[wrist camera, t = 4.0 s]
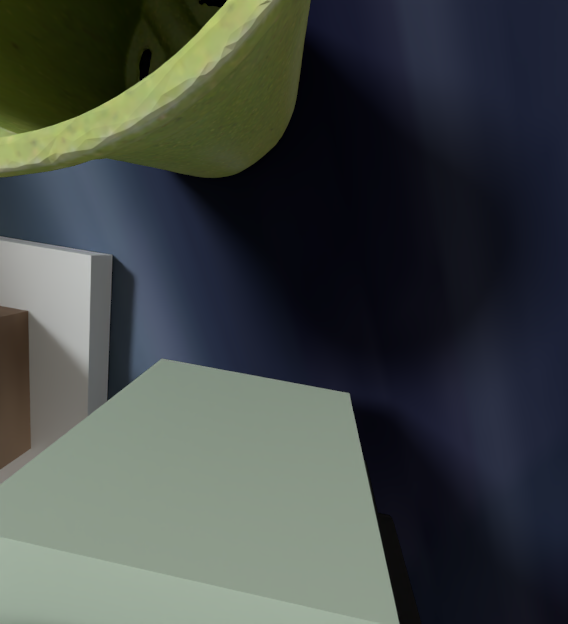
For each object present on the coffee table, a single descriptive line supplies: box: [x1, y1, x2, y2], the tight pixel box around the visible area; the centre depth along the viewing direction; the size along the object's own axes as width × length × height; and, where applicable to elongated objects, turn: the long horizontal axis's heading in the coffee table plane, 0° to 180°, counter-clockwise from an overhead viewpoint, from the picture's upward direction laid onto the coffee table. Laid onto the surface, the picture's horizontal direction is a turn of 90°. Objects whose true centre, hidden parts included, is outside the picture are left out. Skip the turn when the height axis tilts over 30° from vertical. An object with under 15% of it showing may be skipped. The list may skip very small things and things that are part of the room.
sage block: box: [0, 359, 399, 624], centre depth 8 cm, size 6×6×6 cm
